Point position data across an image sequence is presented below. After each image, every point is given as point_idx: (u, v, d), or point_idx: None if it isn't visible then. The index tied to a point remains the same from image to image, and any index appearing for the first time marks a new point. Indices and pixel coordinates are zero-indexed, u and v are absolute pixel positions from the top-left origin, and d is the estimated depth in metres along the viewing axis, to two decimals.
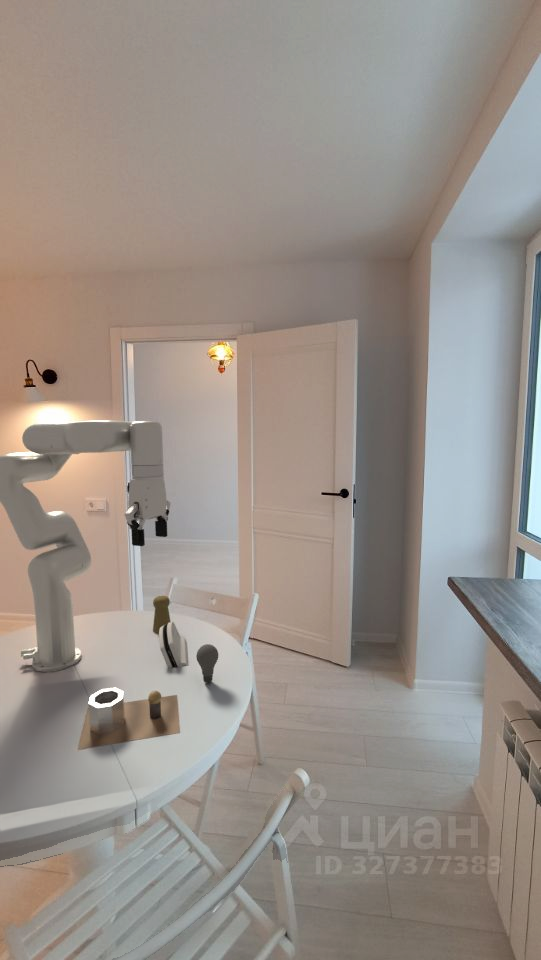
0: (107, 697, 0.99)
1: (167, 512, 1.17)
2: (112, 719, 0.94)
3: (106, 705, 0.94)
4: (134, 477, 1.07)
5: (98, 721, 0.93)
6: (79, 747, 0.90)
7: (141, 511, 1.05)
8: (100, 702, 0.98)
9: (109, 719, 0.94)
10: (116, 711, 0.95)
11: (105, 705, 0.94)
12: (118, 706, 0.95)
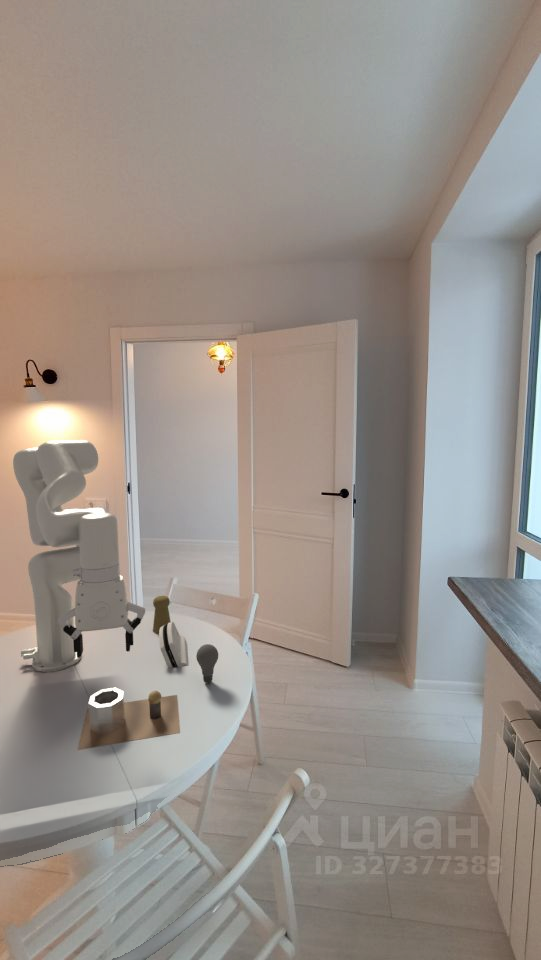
0: (107, 697, 0.99)
1: None
2: (112, 719, 0.94)
3: (106, 705, 0.94)
4: (117, 578, 0.93)
5: (98, 721, 0.93)
6: (79, 747, 0.90)
7: None
8: (100, 702, 0.98)
9: (109, 719, 0.94)
10: (116, 711, 0.95)
11: (105, 705, 0.94)
12: (118, 706, 0.95)
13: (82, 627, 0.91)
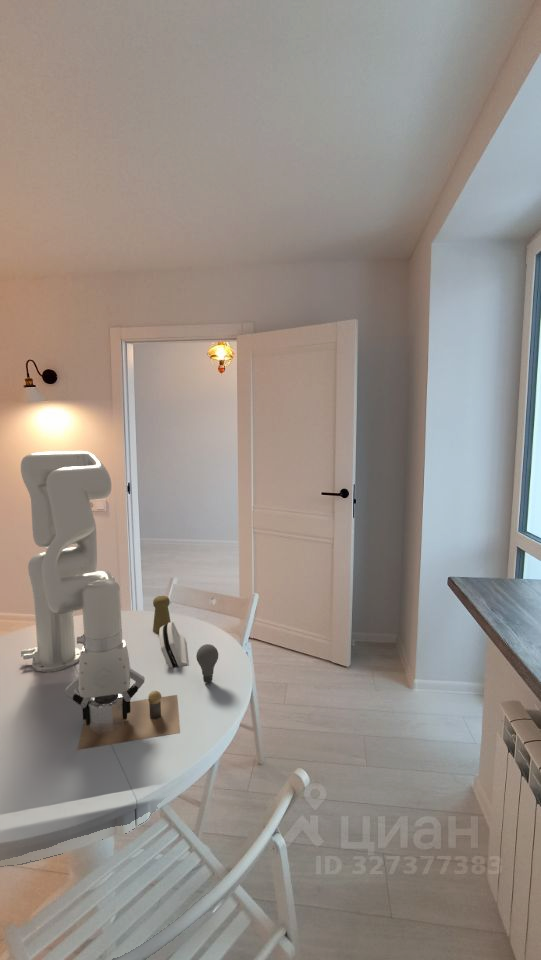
0: (107, 697, 0.99)
1: None
2: (112, 719, 0.94)
3: (106, 705, 0.94)
4: (120, 645, 0.95)
5: (98, 721, 0.93)
6: (79, 747, 0.90)
7: None
8: (100, 702, 0.98)
9: (109, 719, 0.94)
10: (116, 711, 0.95)
11: (105, 705, 0.94)
12: (118, 706, 0.95)
13: (85, 694, 0.93)
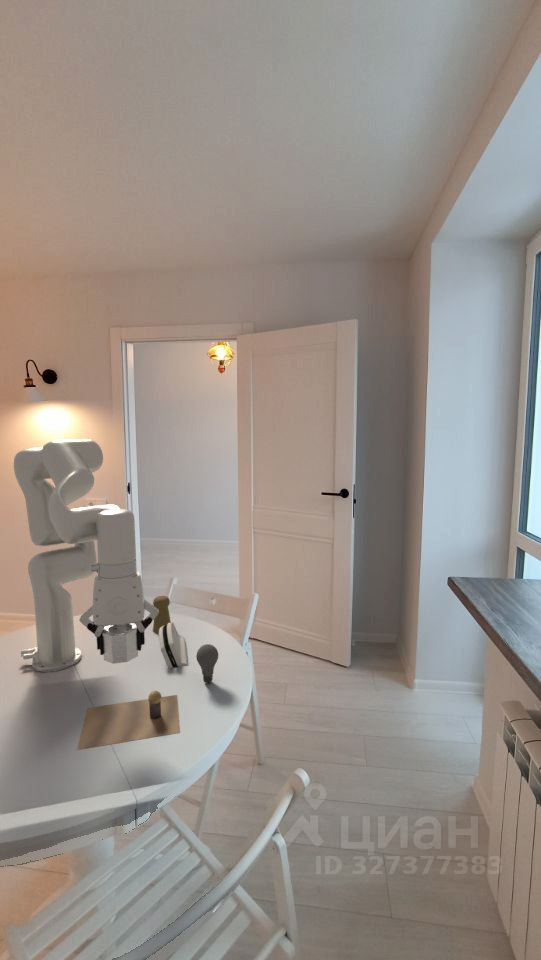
0: (121, 630, 0.98)
1: None
2: (126, 648, 0.93)
3: (120, 634, 0.93)
4: (134, 573, 0.94)
5: (112, 650, 0.92)
6: (79, 747, 0.90)
7: None
8: None
9: (123, 648, 0.93)
10: (130, 641, 0.94)
11: (119, 634, 0.93)
12: (132, 636, 0.94)
13: (100, 622, 0.92)
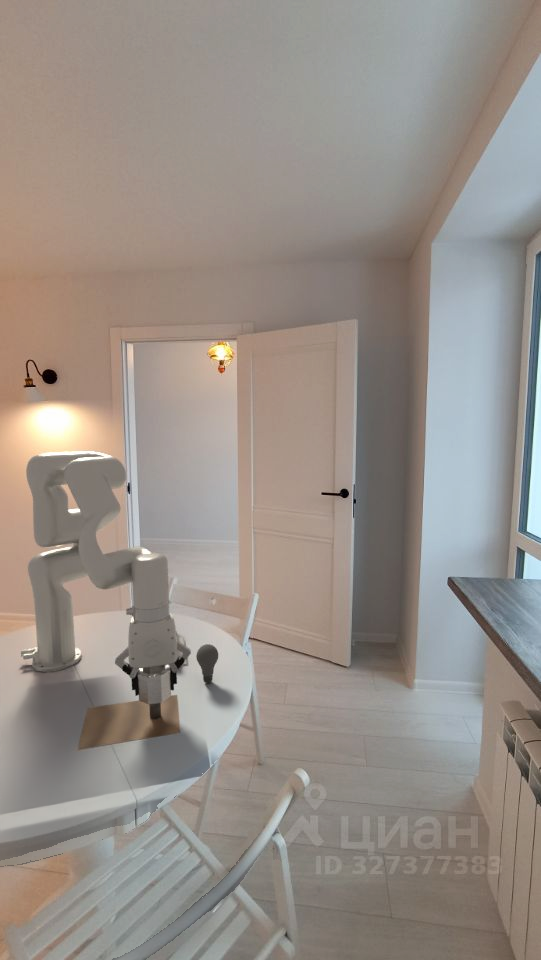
0: (154, 669, 1.01)
1: None
2: (161, 689, 0.96)
3: (155, 675, 0.95)
4: (168, 616, 0.96)
5: (147, 691, 0.95)
6: (79, 747, 0.90)
7: None
8: (147, 674, 1.00)
9: (158, 689, 0.95)
10: (165, 681, 0.96)
11: (154, 675, 0.95)
12: (166, 677, 0.97)
13: (135, 664, 0.94)
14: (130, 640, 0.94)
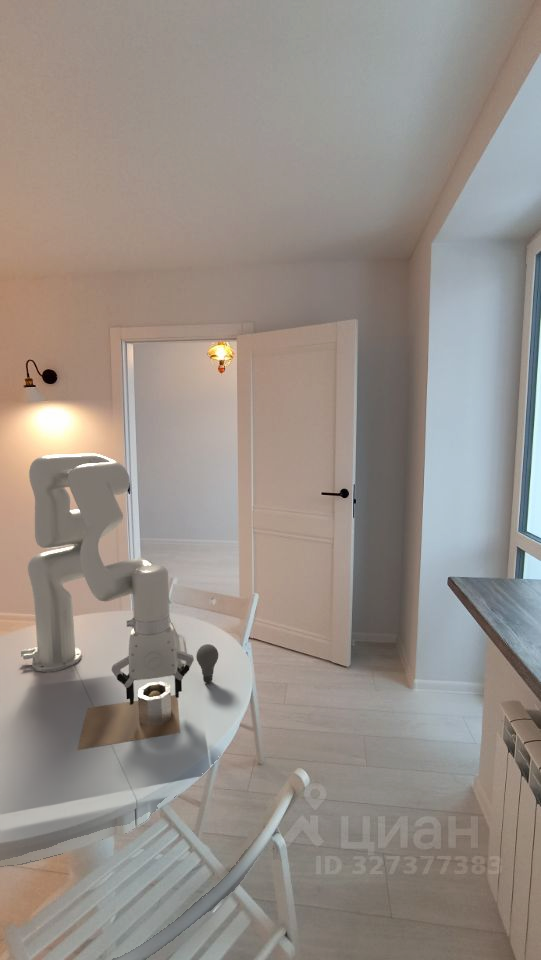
0: (154, 690, 1.01)
1: None
2: (161, 711, 0.96)
3: (155, 698, 0.96)
4: (168, 628, 0.97)
5: (148, 713, 0.96)
6: (79, 747, 0.90)
7: None
8: (147, 695, 1.00)
9: (158, 711, 0.96)
10: (165, 704, 0.97)
11: (154, 698, 0.96)
12: (166, 699, 0.97)
13: (135, 676, 0.95)
14: (130, 652, 0.94)
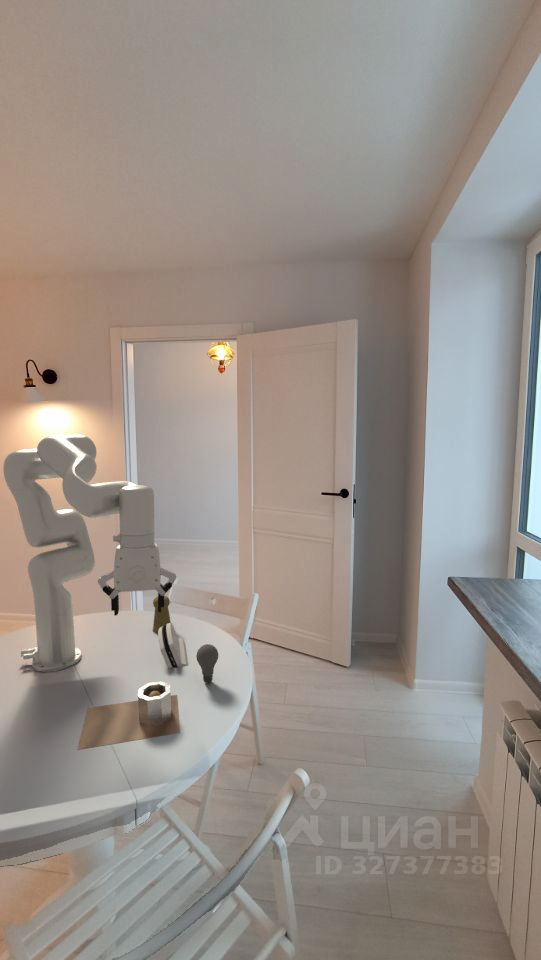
0: (154, 690, 1.01)
1: None
2: (161, 711, 0.96)
3: (155, 698, 0.96)
4: (153, 545, 1.02)
5: (148, 713, 0.96)
6: (79, 747, 0.90)
7: None
8: (147, 695, 1.00)
9: (158, 711, 0.96)
10: (165, 704, 0.97)
11: (154, 698, 0.96)
12: (166, 699, 0.97)
13: (120, 588, 1.00)
14: (116, 564, 0.99)
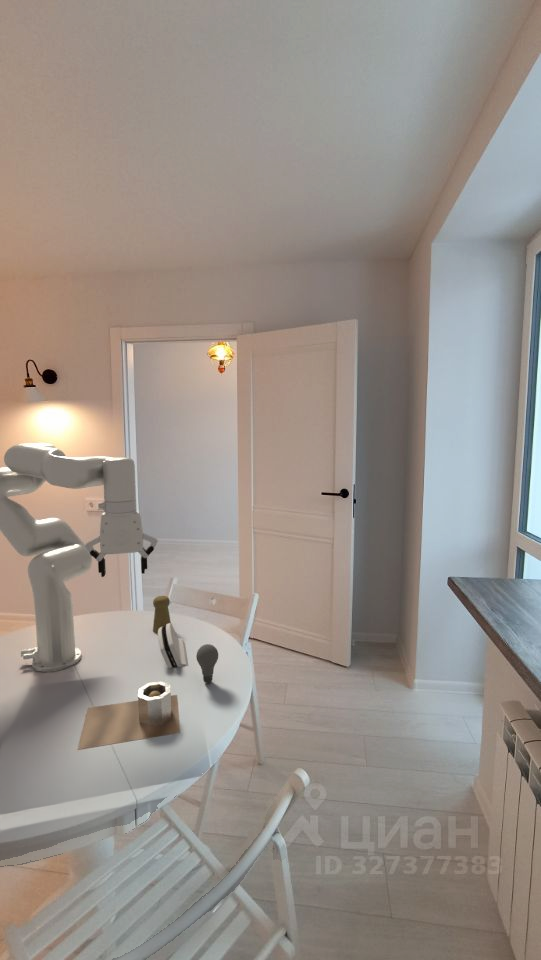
0: (154, 690, 1.01)
1: None
2: (161, 711, 0.96)
3: (155, 698, 0.96)
4: (135, 511, 1.12)
5: (148, 713, 0.96)
6: (79, 747, 0.90)
7: None
8: (147, 695, 1.00)
9: (158, 711, 0.96)
10: (165, 704, 0.97)
11: (154, 698, 0.96)
12: (166, 699, 0.97)
13: (106, 550, 1.10)
14: (101, 529, 1.09)
